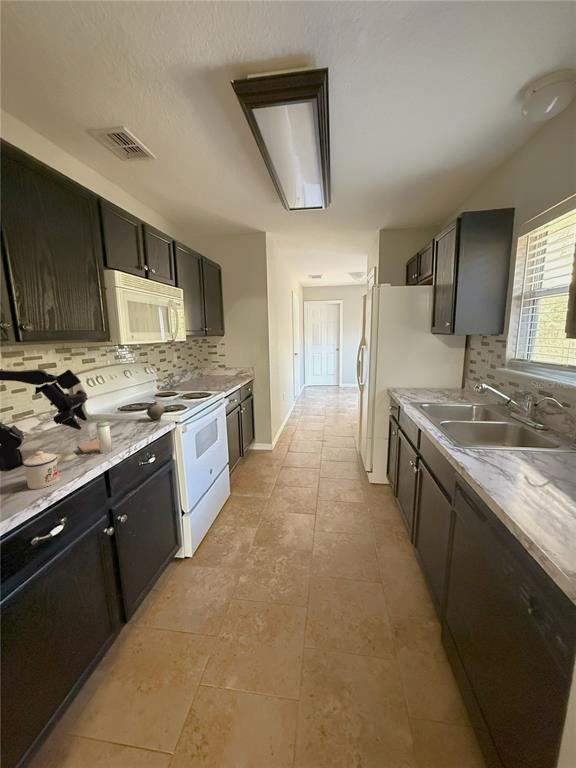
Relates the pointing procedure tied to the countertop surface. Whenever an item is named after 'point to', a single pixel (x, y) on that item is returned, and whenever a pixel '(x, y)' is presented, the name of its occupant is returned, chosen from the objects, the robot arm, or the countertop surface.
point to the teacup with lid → (41, 470)
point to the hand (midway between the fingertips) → (83, 424)
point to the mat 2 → (89, 446)
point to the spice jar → (104, 437)
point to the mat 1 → (66, 456)
